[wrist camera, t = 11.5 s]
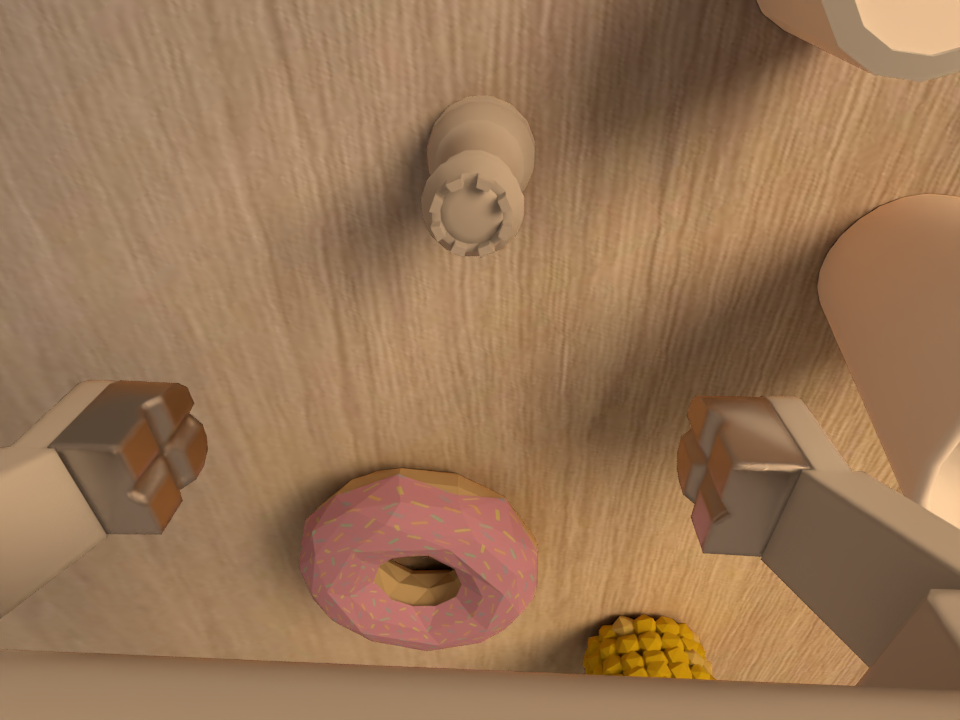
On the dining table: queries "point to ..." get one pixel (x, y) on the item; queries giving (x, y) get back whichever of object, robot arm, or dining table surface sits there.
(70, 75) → the dining table surface
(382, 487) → the donut
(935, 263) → the cup
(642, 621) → the food
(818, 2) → the shot glass
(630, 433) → the dining table surface
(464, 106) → the rook chess piece
